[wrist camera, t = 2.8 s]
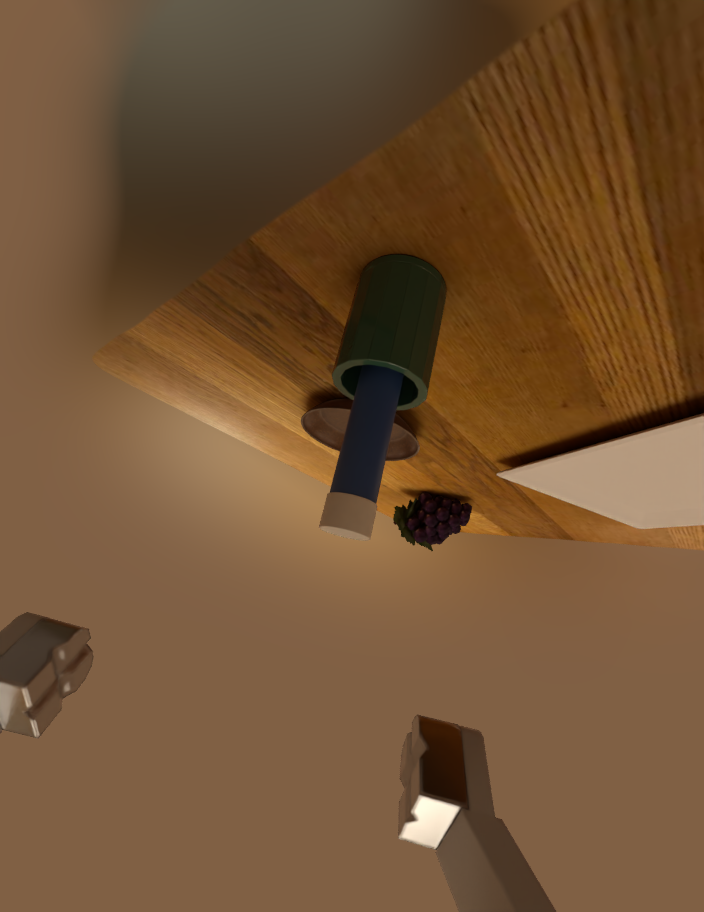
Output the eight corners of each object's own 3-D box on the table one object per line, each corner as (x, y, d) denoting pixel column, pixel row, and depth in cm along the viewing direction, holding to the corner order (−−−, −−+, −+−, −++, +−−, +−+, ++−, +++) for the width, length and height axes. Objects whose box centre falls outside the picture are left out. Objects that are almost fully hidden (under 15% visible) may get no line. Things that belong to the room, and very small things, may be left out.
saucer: (312, 429, 59) (307, 447, 58) (299, 376, 45) (292, 398, 44) (414, 451, 58) (410, 469, 57) (433, 404, 44) (429, 427, 43)
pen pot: (356, 249, 27) (326, 352, 24) (452, 259, 26) (431, 369, 23) (361, 313, 32) (337, 402, 30) (440, 323, 32) (422, 416, 29)
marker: (379, 277, 28) (314, 523, 22) (423, 283, 27) (368, 535, 22) (380, 307, 30) (322, 532, 25) (420, 313, 30) (371, 543, 25)
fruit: (475, 488, 76) (406, 505, 85) (450, 477, 68) (376, 497, 77) (485, 544, 73) (412, 555, 81) (460, 539, 65) (382, 552, 73)
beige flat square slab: (730, 385, 31) (732, 410, 30) (920, 489, 38) (924, 511, 37) (496, 461, 54) (494, 476, 54) (639, 516, 61) (638, 530, 61)
